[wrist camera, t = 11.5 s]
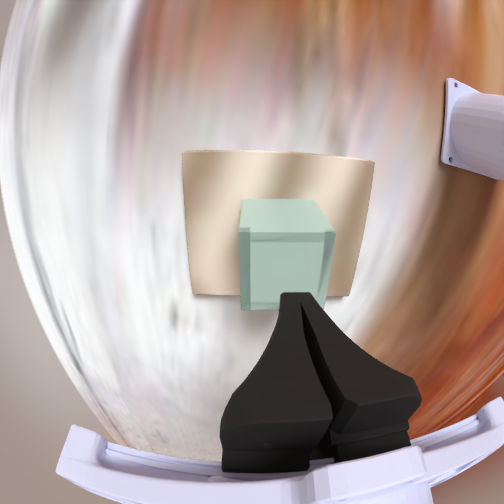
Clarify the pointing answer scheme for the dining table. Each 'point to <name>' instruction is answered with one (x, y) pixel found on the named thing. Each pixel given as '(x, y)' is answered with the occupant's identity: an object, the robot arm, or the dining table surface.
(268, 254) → the mint green grooved cube
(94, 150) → the dining table surface
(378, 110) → the dining table surface
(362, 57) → the dining table surface
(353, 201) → the board
